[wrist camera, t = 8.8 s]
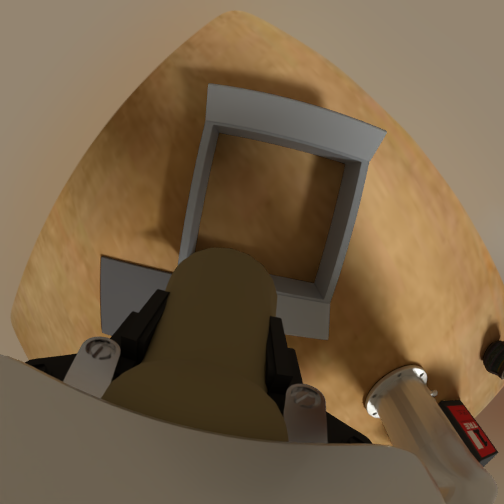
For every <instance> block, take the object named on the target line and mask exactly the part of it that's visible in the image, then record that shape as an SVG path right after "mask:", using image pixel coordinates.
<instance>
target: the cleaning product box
mask: <svg viewBox="0 0 504 504" xmlns="http://www.w3.org/2000/svg"><path fill="white" fill-rule="evenodd" d="M438 405H439V407H440V408H441V410H442V411H443V412H444V414H445V415H446V417H447V418H448V420H449V421H450V423H451V424H452V426H453V427H454V429H455V430H456V432H457V433H458V435H459V436H460V438H461V439H462V441H463V442H464V444H465V445H466V446H467V448H468V449H469V451H470V452H471V454H472V455H473V456H474V457H475V458H476V459H477V461H478V462H479V463H480V464H481V465H482V466H483V467H484V466H485V465H486V464H487V463H488V462H489V461H490V460H491V459H492V458H493V457H494V456H495V455H496V454H497V453H498V451H497V450H496V449H495V447H494V446H493V444H492V443H491V441H490V440H489V439H488V437H487V436H486V434H485V433H484V431H483V430H482V429H481V427H480V426H479V424H478V423H477V422H476V420H475V419H474V418H473V416H472V415H471V414H470V412H469V411H468V410H467V408H466V407H465V406H464V404H463V403H462V402H461V401H460V400H455V401H441V402H440V403H439V404H438Z"/></svg>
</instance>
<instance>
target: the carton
mask: <svg viewBox="0 0 504 504" xmlns="http://www.w3.org/2000/svg"><path fill="white" fill-rule="evenodd" d="M219 133H222V134H228V135H233V136H238V137H243V138H248V139H253V140H258V141H262V142H267V143H271V144H276V145H280V146H284V147H288V148H292V149H296V150H299V151H303V152H307V153H311V154H314V155H318V156H321V157H324V158H328V159H331V160H334V161H338V162H341V163H344V164H345V169H344V173H343V177H342V182H341V186H340V190H339V195H338V199H337V203H336V207H335V211H334V215H333V219H332V222H331V226H330V230H329V234H328V237H327V241H326V245H325V248H324V252H323V255H322V259H321V262H320V266H319V269H318V272H317V276H316V279H315V282H314V283H311V282H305V281H300V280H295V279H290V278H285V277H280V276H275V275H270V274H269V275H270V276H271V278H272V279H273V282H274V285H275V289H276V292H277V309H276V317H279V318H281V319H282V323H283V328H284V333H285V334H286V335H293V336H300V337H307V338H314V339H322V340H328V337H329V319H330V302H331V299H332V296H333V293H334V290H335V287H336V284H337V281H338V278H339V275H340V272H341V269H342V265H343V262H344V259H345V256H346V252H347V249H348V245H349V242H350V238H351V235H352V231H353V227H354V224H355V220H356V216H357V212H358V208H359V204H360V200H361V196H362V192H363V188H364V183H365V179H366V174H367V170H368V165H369V162H370V160H371V159H372V157H373V155H374V154H375V152H376V150H377V149H378V147H379V145H380V144H381V142H382V140H383V138H384V137H385V135H386V133H387V131H386V130H383V129H381V128H378V127H376V126H373V125H371V124H368V123H366V122H363V121H360V120H358V119H355V118H352V117H349V116H347V115H344V114H341V113H338V112H335V111H332V110H329V109H325V108H322V107H319V106H316V105H312V104H309V103H305V102H301V101H298V100H294V99H290V98H286V97H282V96H278V95H273V94H269V93H264V92H259V91H254V90H249V89H244V88H238V87H232V86H226V85H219V84H211V83H209V84H208V93H207V106H206V121H205V125H204V129H203V133H202V138H201V142H200V146H199V151H198V155H197V160H196V164H195V169H194V174H193V179H192V184H191V189H190V194H189V200H188V205H187V210H186V216H185V222H184V228H183V234H182V240H181V247H180V253H179V260H178V265H179V263H180V262H182V261H183V260H184V259H186V258H187V257H189V256H190V255H192V254H193V253H195V248H196V242H197V237H198V231H199V225H200V220H201V215H202V209H203V204H204V199H205V194H206V189H207V184H208V179H209V175H210V170H211V165H212V161H213V156H214V152H215V147H216V143H217V139H218V135H219Z"/></svg>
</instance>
